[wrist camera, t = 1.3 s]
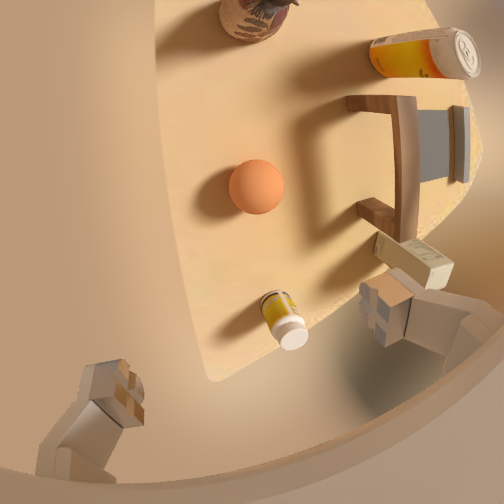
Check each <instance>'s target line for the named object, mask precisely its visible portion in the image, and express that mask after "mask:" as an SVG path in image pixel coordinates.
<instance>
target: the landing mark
mask: <svg viewBox="0 0 504 504" xmlns="http://www.w3.org/2000/svg"><path fill="white" fill-rule="evenodd" d="M417 112H418V125H419V144H420V183H422V182H426V181H430V180H434V179H438V178H442V177H447V176H449V156H450V145H449V117H448V111H446V110H417Z"/></svg>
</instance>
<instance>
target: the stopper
mask: <svg viewBox="0 0 504 504" xmlns="http://www.w3.org/2000/svg"><path fill="white" fill-rule="evenodd" d="M453 113H454V135H455V161H454V180H457V181H459V182H461V183H467V182H469V170H470V115H469V108H468V107H463V106H455V105H453Z"/></svg>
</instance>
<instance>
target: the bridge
mask: <svg viewBox="0 0 504 504" xmlns="http://www.w3.org/2000/svg"><path fill="white" fill-rule="evenodd" d="M346 97H347V103H348V110H351V111H364V112H375V113H384V114H391V118H392V128H393V142H394V161H395V209H393V208H392V207H390V206H388V205H386V204H385V203H383V202H381V201H379V200H377V199H375V198H374V197H373V198H369V199H365V200H362V201H358V202H357V214H358V215H359V216H360V217H362V218H363V219H365V220H366V221H368V222H369V223H371V224H372V225H374V226H375V227H377V228H378V229H379V230H381V231H382V232H384V233H385V234H387V235H388V236H389V237H391V238H392V239H394V240H395V241H396V242H398V243H399V244H400V243H403V242H405V241H408V240H410V239H413V238H416V236H417V226H418V212H419V193H420V144H419V125H418V112H417V102H416V97H412V96H396V95H349V96H346Z"/></svg>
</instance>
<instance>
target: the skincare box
mask: <svg viewBox="0 0 504 504" xmlns="http://www.w3.org/2000/svg"><path fill="white" fill-rule="evenodd" d="M374 255H375V256H376V257H378V258H379V259H380V260H381V261H383V262H384V263H385V264H386V265H388V266H389V267H390V268H391V269H393V268H395V267H396V268H400V269H401V270H402V271H404V272H405V273H406V274H407V275H409V276H410V277H411V278H412V279H414V280H415V281H416V282H417V283H419V284H420V285H421V286H422V287H423V288H425V289H426V290H427V289H429V288H430V289H435V290H439V289H441V288H444V287H445V286H446V284H447V281H448V279H449V276H450V273H451V271H452V268H453V265H454V262H453V261H451V260H450V259H448V258H447V257H445V256H444V255H442V254H441V253H439V252H438V251H437V250H435V249H434V248H432V247H431V246H429V245H428V244H426V243H425V242H423V241H422V240H420V239H419V238H417V237H416V238H413V239H410V240H408V241H405V242H403V243H400V244H399V243H398V242H396V241H395V240H394V239H392V238H391V237H389V236H388V235H387V234H385V233H384V232H382V231H379V232H378V236H377V240H376V245H375V249H374Z"/></svg>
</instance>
